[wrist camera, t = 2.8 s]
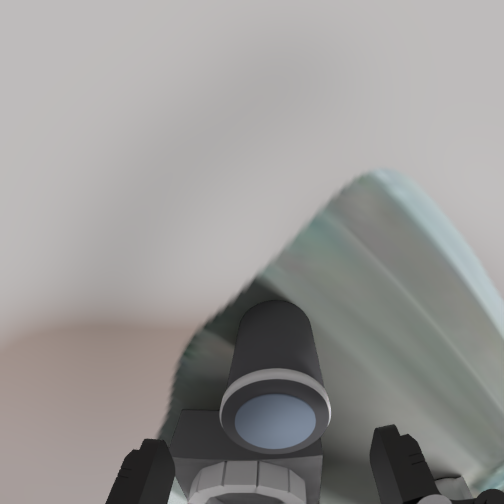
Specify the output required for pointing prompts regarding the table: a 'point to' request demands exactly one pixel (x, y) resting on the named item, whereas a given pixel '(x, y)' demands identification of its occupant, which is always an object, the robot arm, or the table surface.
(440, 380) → the table surface
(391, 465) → the robot arm
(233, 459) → the camera body
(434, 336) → the table surface
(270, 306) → the lens
